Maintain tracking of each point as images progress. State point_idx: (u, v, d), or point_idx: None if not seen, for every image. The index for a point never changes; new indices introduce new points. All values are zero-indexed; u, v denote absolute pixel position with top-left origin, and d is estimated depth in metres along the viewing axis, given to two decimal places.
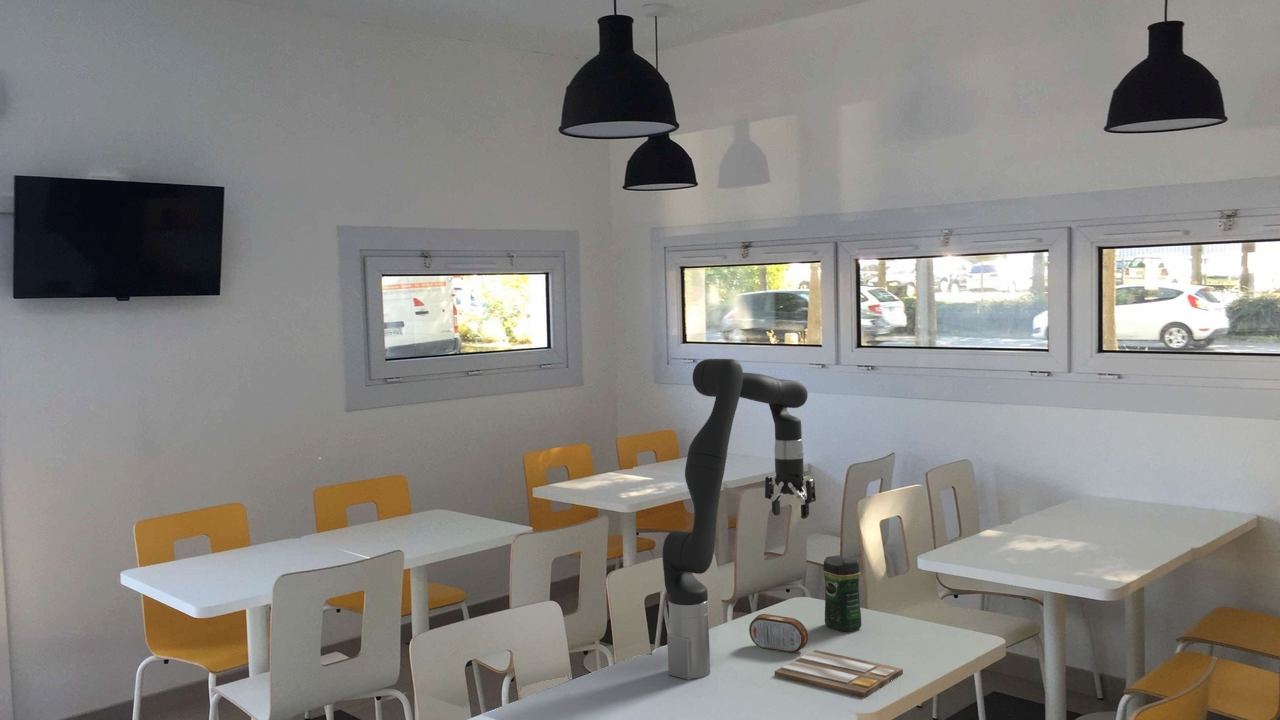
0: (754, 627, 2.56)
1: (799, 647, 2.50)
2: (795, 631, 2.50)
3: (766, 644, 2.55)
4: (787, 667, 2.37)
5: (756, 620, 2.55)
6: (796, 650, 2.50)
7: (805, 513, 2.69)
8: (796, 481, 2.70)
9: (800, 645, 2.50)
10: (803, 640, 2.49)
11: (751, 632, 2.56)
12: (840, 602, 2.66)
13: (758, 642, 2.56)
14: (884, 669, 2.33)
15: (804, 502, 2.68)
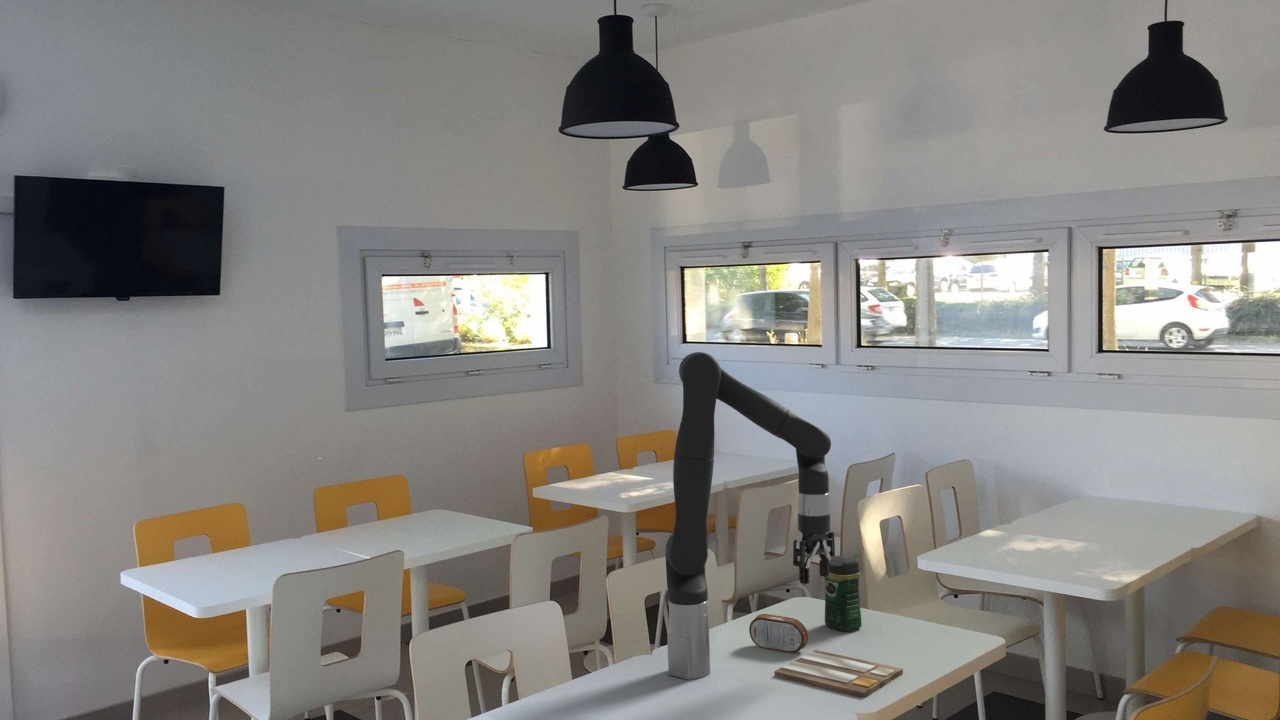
0: (754, 627, 2.56)
1: (799, 647, 2.50)
2: (795, 631, 2.50)
3: (766, 644, 2.55)
4: (787, 667, 2.37)
5: (756, 620, 2.55)
6: (796, 650, 2.50)
7: (828, 569, 2.44)
8: (824, 537, 2.42)
9: (800, 645, 2.50)
10: (803, 640, 2.49)
11: (751, 632, 2.56)
12: (840, 602, 2.66)
13: (758, 642, 2.56)
14: (884, 669, 2.33)
15: None
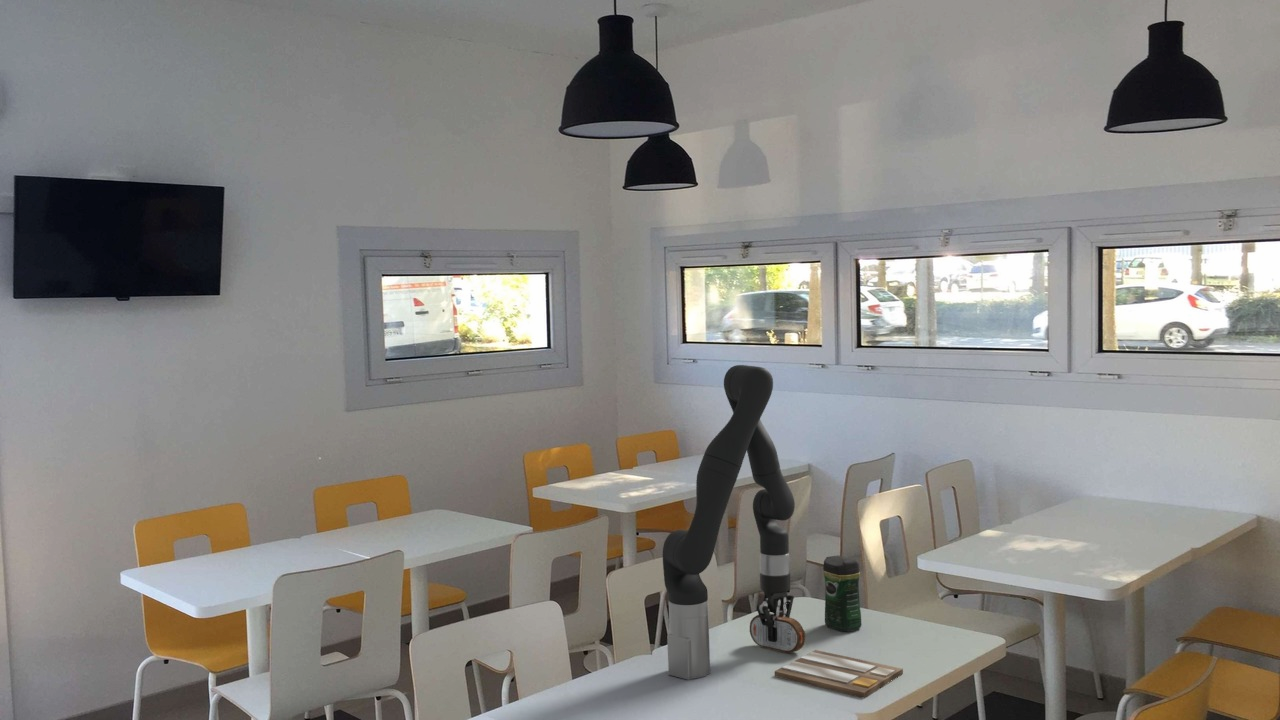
0: (754, 624, 2.57)
1: (795, 647, 2.49)
2: (792, 631, 2.49)
3: (764, 642, 2.55)
4: (787, 667, 2.37)
5: (756, 617, 2.56)
6: (792, 650, 2.49)
7: None
8: (785, 594, 2.55)
9: (796, 645, 2.49)
10: (799, 640, 2.48)
11: (751, 629, 2.57)
12: (840, 602, 2.66)
13: (757, 640, 2.56)
14: (884, 669, 2.33)
15: None
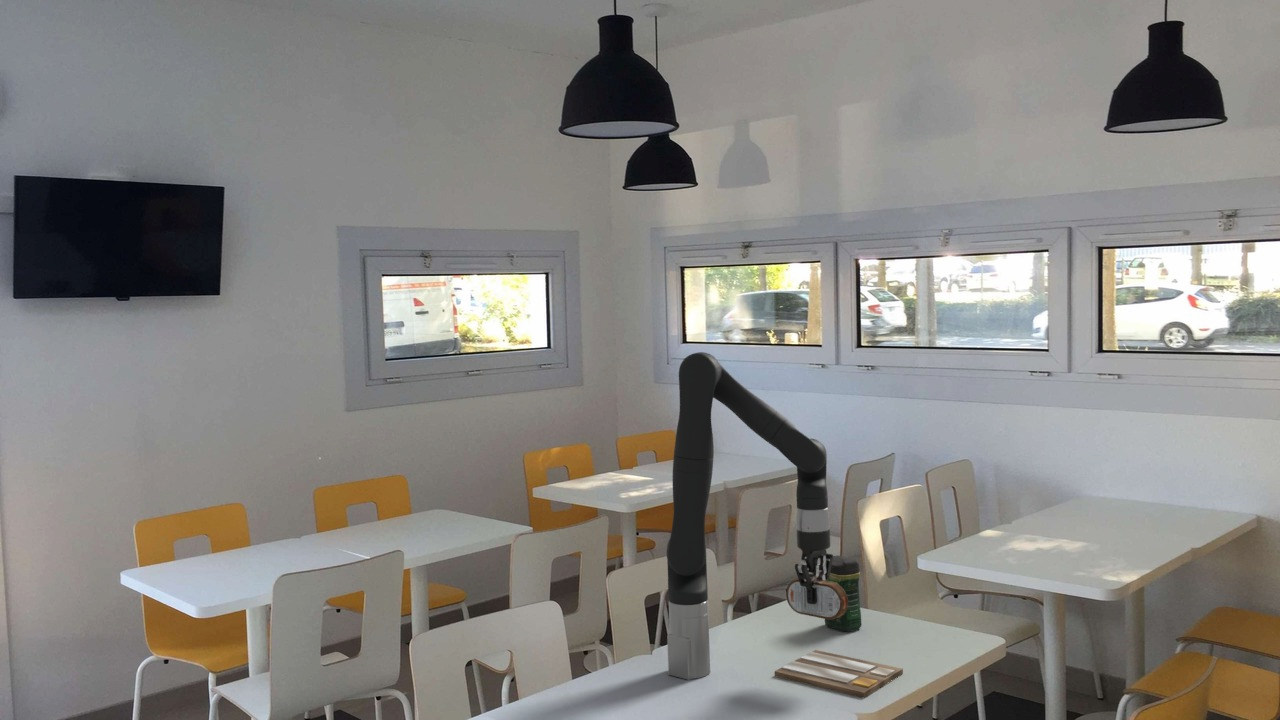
0: (791, 590, 2.37)
1: (837, 613, 2.29)
2: (834, 596, 2.30)
3: (803, 609, 2.35)
4: (787, 667, 2.37)
5: (794, 582, 2.36)
6: (834, 616, 2.30)
7: None
8: (824, 552, 2.35)
9: (839, 611, 2.29)
10: (842, 605, 2.29)
11: (788, 595, 2.38)
12: None
13: (795, 606, 2.36)
14: (884, 669, 2.33)
15: None
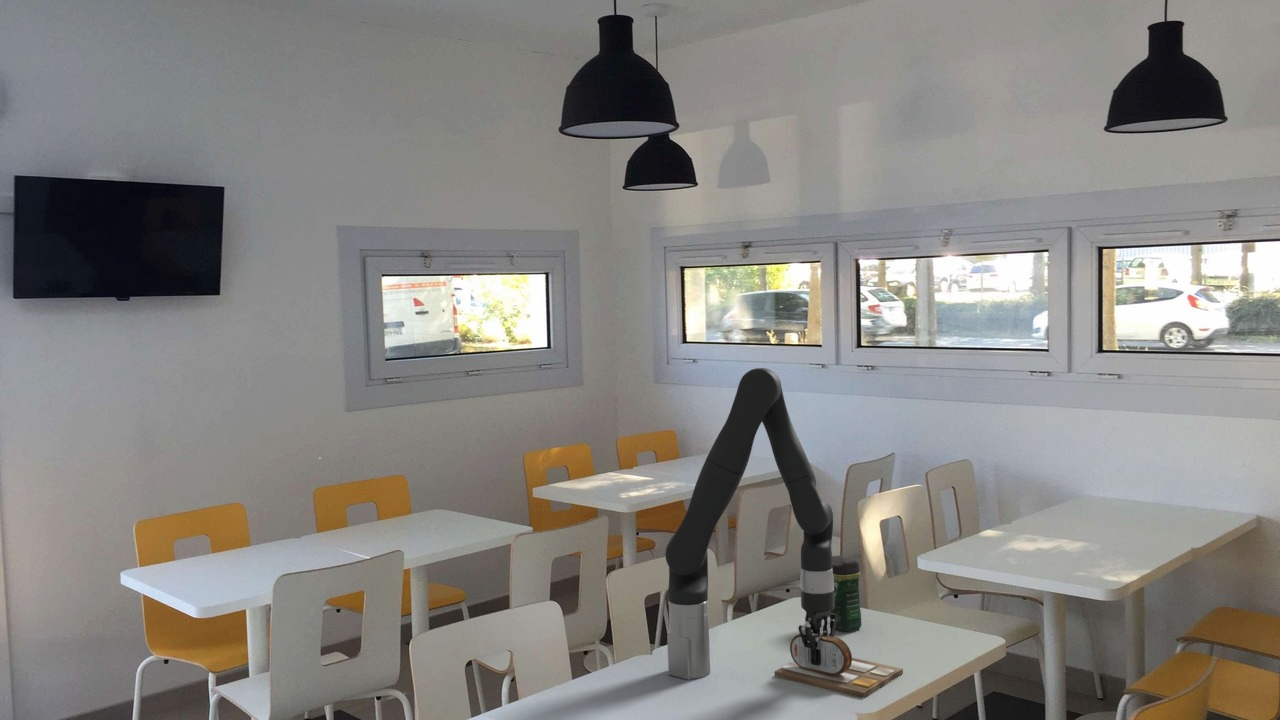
0: (795, 644, 2.36)
1: (841, 669, 2.28)
2: (837, 652, 2.29)
3: (806, 664, 2.34)
4: (787, 667, 2.37)
5: (797, 637, 2.35)
6: (838, 672, 2.29)
7: None
8: (828, 612, 2.34)
9: (842, 667, 2.28)
10: (846, 662, 2.28)
11: (792, 650, 2.37)
12: (840, 602, 2.66)
13: (799, 661, 2.36)
14: (884, 669, 2.33)
15: None
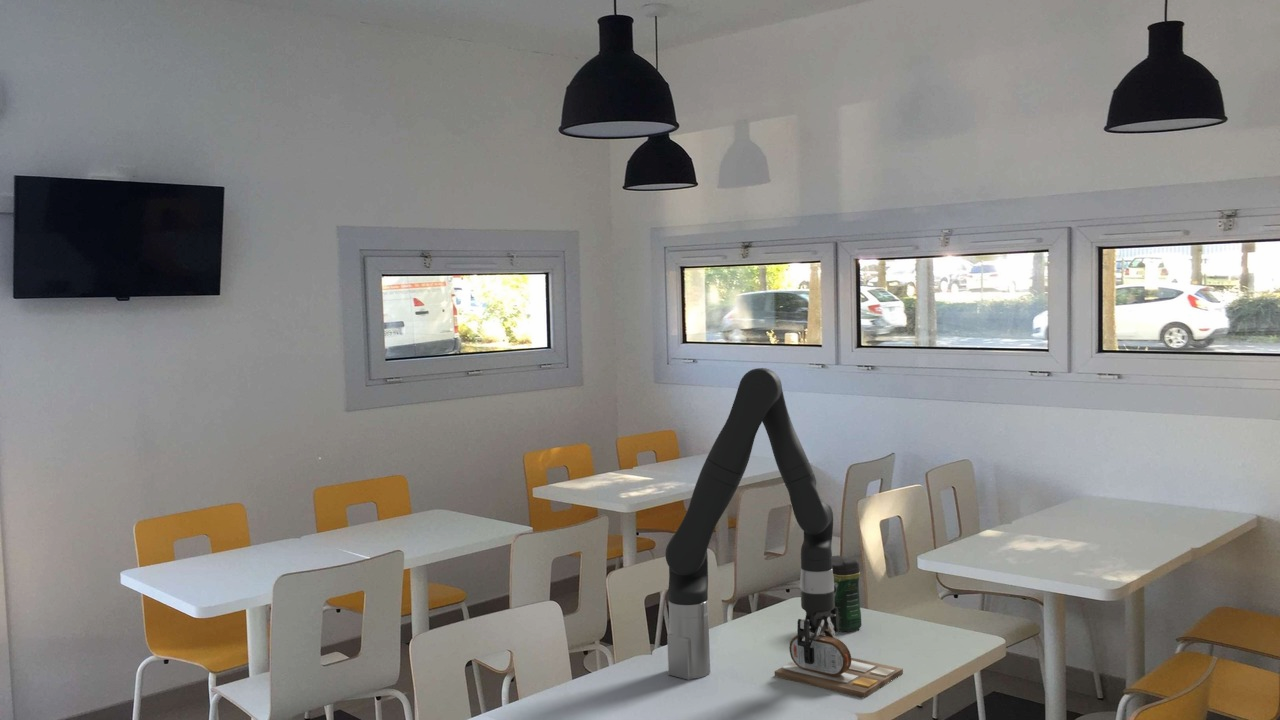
0: (794, 645, 2.36)
1: (841, 670, 2.28)
2: (836, 653, 2.29)
3: (806, 665, 2.34)
4: (787, 667, 2.37)
5: (796, 638, 2.35)
6: (838, 673, 2.29)
7: None
8: (828, 613, 2.34)
9: (842, 668, 2.28)
10: (845, 663, 2.28)
11: (791, 651, 2.37)
12: (840, 602, 2.66)
13: (798, 662, 2.36)
14: (884, 669, 2.33)
15: (834, 634, 2.36)
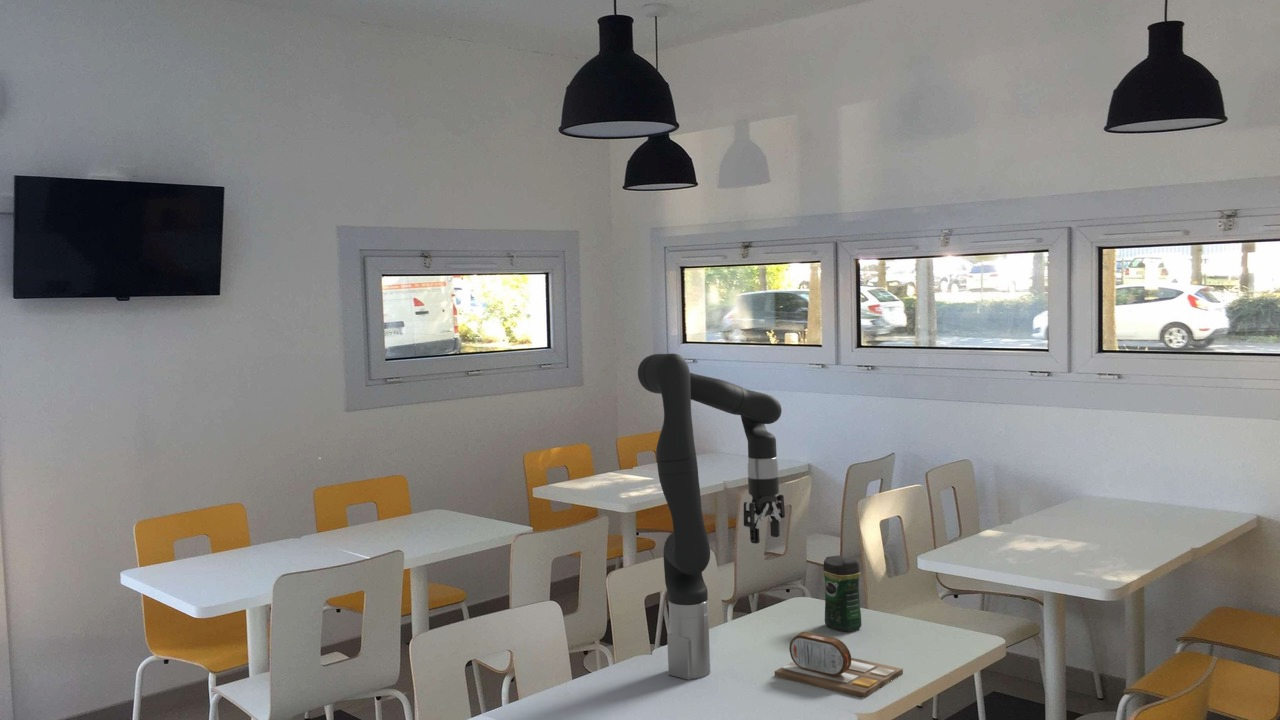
0: (794, 645, 2.36)
1: (841, 670, 2.28)
2: (836, 653, 2.29)
3: (806, 665, 2.34)
4: (787, 667, 2.37)
5: (796, 638, 2.35)
6: (838, 673, 2.29)
7: (778, 530, 2.58)
8: (774, 499, 2.56)
9: (842, 668, 2.28)
10: (845, 663, 2.28)
11: (791, 651, 2.37)
12: (840, 602, 2.66)
13: (798, 662, 2.36)
14: (884, 669, 2.33)
15: (780, 519, 2.58)
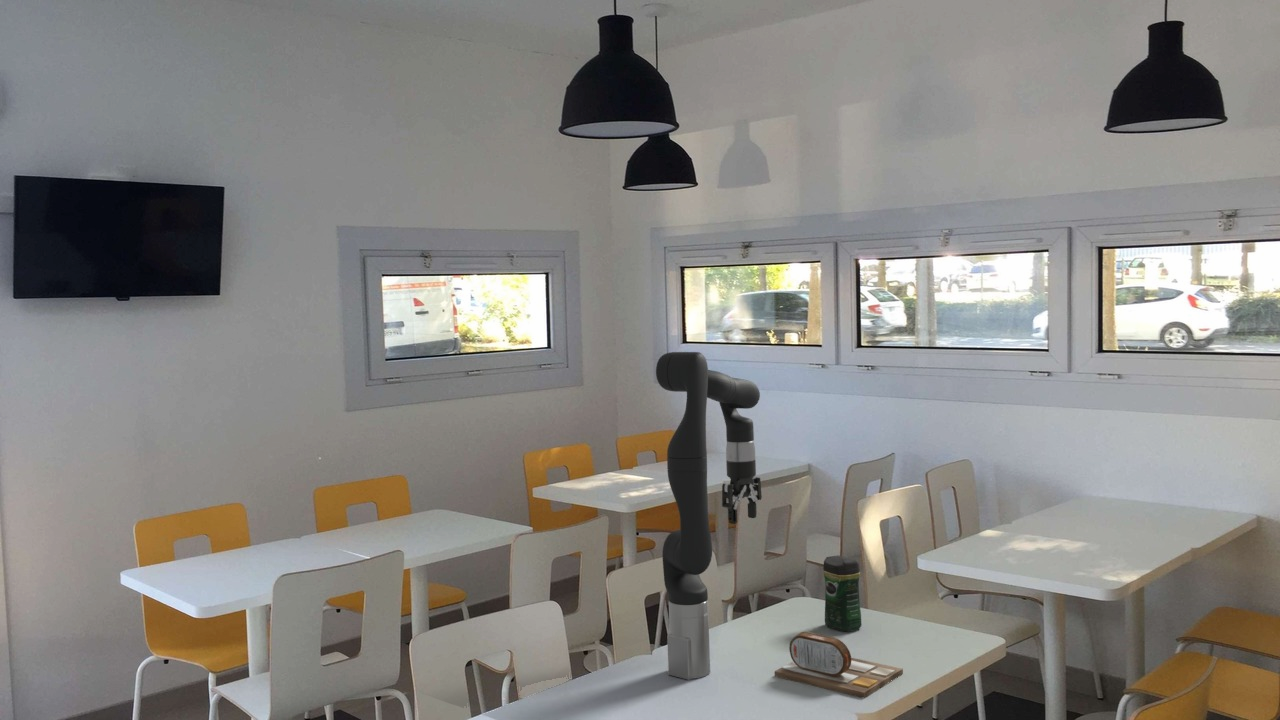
0: (794, 645, 2.36)
1: (841, 670, 2.28)
2: (836, 653, 2.29)
3: (806, 665, 2.34)
4: (787, 667, 2.37)
5: (796, 638, 2.35)
6: (838, 673, 2.29)
7: (755, 511, 2.68)
8: (751, 481, 2.66)
9: (842, 668, 2.28)
10: (845, 663, 2.28)
11: (791, 651, 2.37)
12: (840, 602, 2.66)
13: (798, 662, 2.36)
14: (884, 669, 2.33)
15: (757, 500, 2.68)
